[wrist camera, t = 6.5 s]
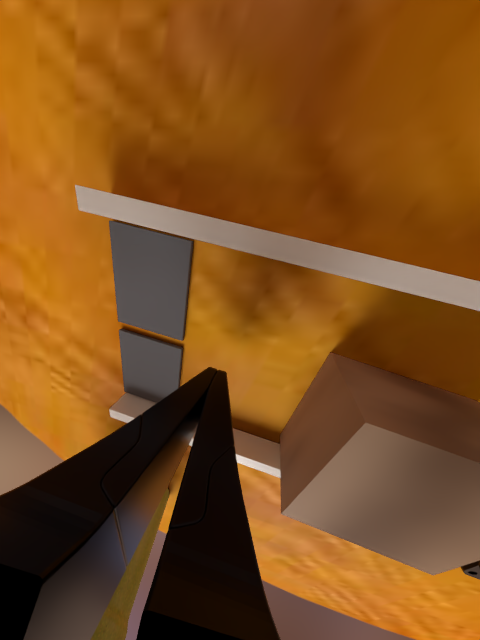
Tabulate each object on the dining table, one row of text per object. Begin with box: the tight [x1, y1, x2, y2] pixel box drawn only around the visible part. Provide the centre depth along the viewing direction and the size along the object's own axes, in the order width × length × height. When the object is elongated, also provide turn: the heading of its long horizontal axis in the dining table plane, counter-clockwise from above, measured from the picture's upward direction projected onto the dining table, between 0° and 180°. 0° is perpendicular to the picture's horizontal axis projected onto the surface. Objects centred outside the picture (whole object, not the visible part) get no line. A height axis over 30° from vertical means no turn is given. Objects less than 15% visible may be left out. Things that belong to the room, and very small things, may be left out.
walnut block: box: [280, 352, 480, 575], centre depth 8 cm, size 7×7×4 cm
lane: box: [75, 185, 480, 478], centre depth 8 cm, size 23×13×3 cm, turn 77°
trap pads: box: [109, 221, 193, 403], centre depth 10 cm, size 4×11×1 cm, turn 168°
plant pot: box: [91, 488, 169, 640], centre depth 14 cm, size 9×9×9 cm
